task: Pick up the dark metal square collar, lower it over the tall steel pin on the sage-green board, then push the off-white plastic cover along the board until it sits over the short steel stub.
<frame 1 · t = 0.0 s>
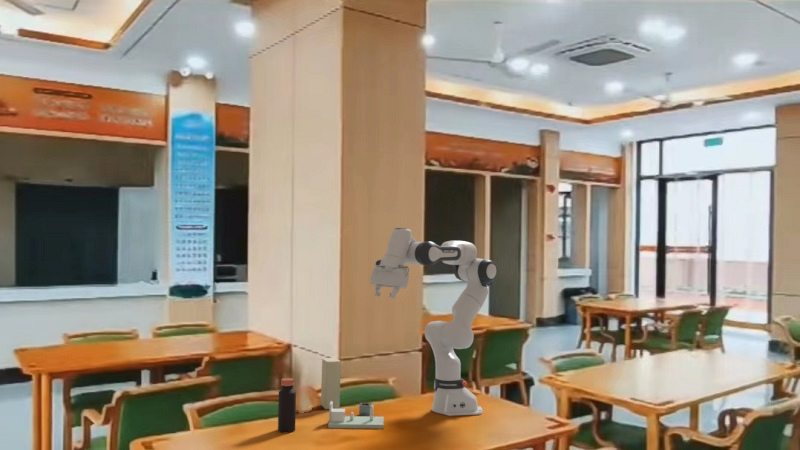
hand: (384, 297, 271), 52 cm above the table, tool tilted 20°, fingers open, 8 cm apart
collar: (365, 416, 283), on the table
bottle: (286, 430, 260), on the table
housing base: (356, 423, 271), on the table
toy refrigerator: (331, 406, 298), on the table
cover: (337, 411, 271), point 5 cm above the table, slide at 0.0 cm
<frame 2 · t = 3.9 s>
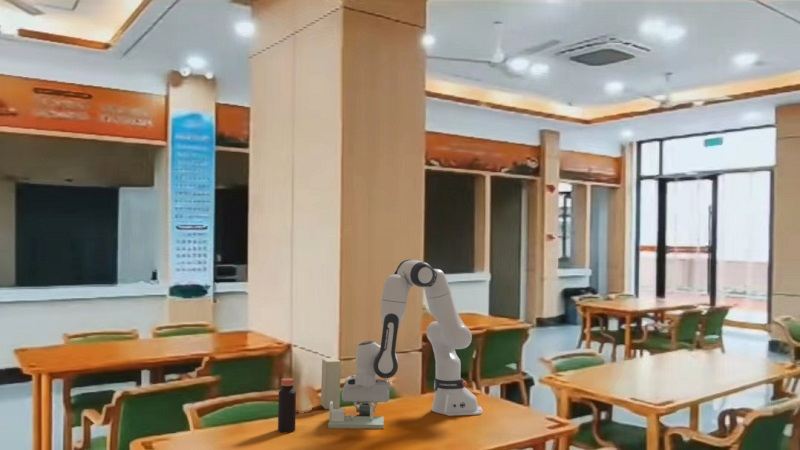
hand: (365, 412, 283), 2 cm above the table, tool pointing down, fingers closed on collar, 5 cm apart
collar: (365, 416, 283), on the table, touching gripper
everything else where it was.
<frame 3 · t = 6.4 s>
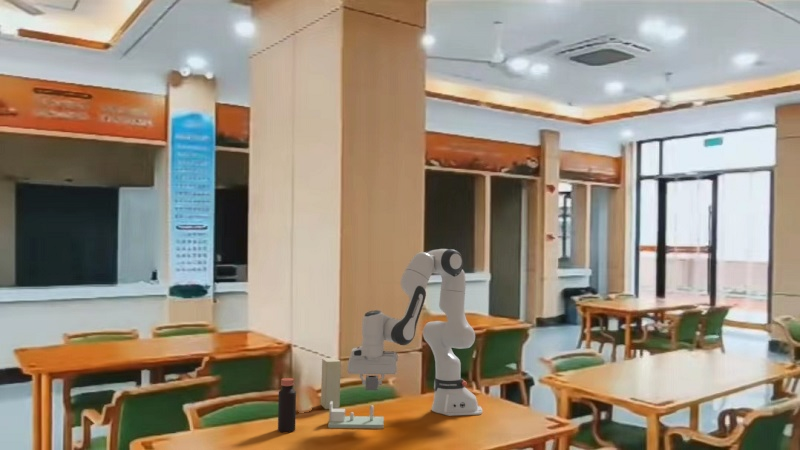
hand: (371, 384, 271), 16 cm above the table, tool pointing down, fingers closed on collar, 5 cm apart
collar: (371, 388, 271), point 14 cm above the table, touching gripper
everything else where it was.
when the fingers open (4 cm above the table, at t = 9.0 s): collar stays where it is, resting on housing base.
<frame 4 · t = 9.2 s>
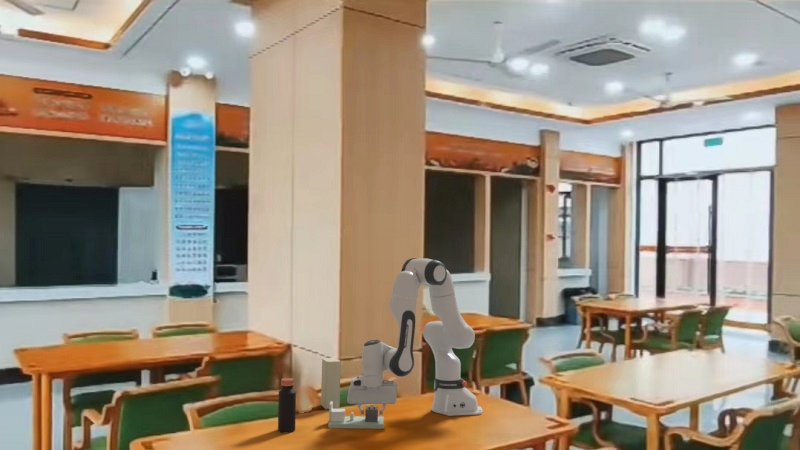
hand: (371, 414, 271), 4 cm above the table, tool pointing down, fingers open, 6 cm apart
collar: (371, 420, 271), point 1 cm above the table, touching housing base
everything else where it was.
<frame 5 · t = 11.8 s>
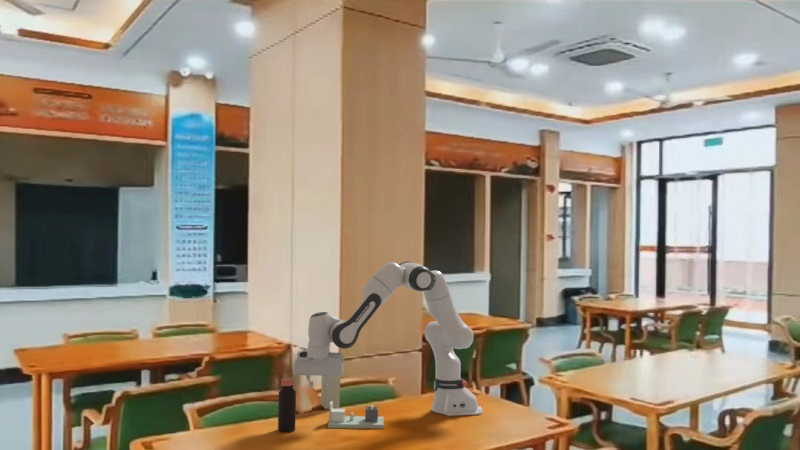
hand: (318, 386, 271), 15 cm above the table, tool pointing down, fingers open, 4 cm apart
nothing on the table moved.
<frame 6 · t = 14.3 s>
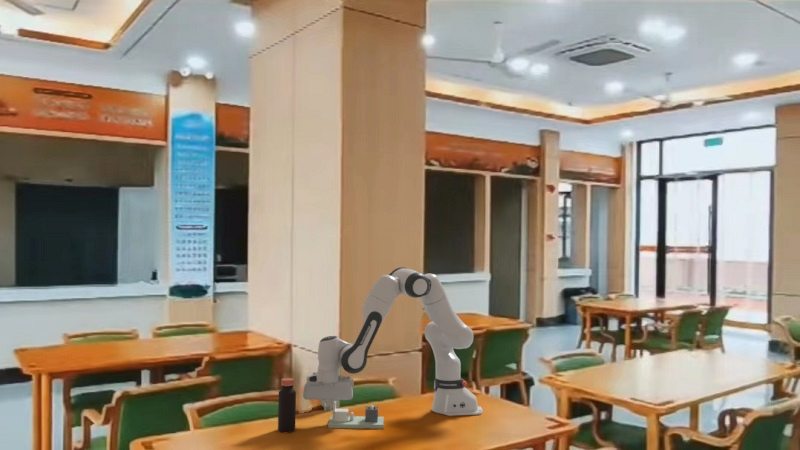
hand: (327, 410, 271), 5 cm above the table, tool pointing down, fingers closed
cover: (340, 411, 271), point 5 cm above the table, slide at 1.4 cm, touching gripper
everything else where it was.
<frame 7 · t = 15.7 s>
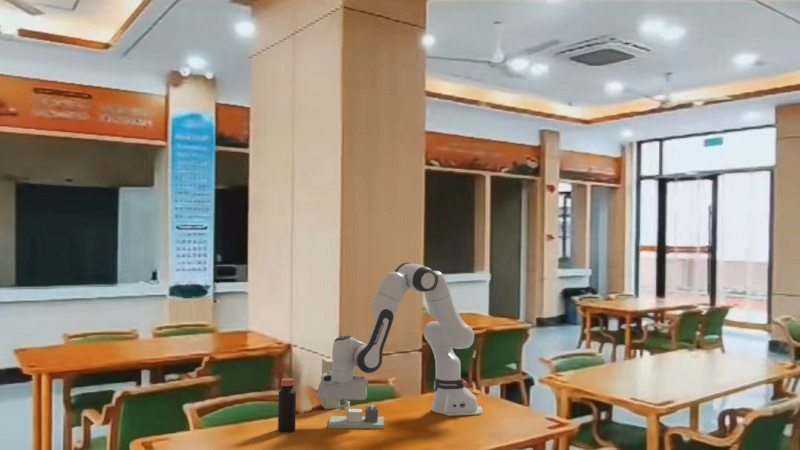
hand: (342, 409, 271), 6 cm above the table, tool pointing down, fingers closed
cover: (354, 411, 271), point 5 cm above the table, slide at 7.0 cm, touching gripper
everything else where it was.
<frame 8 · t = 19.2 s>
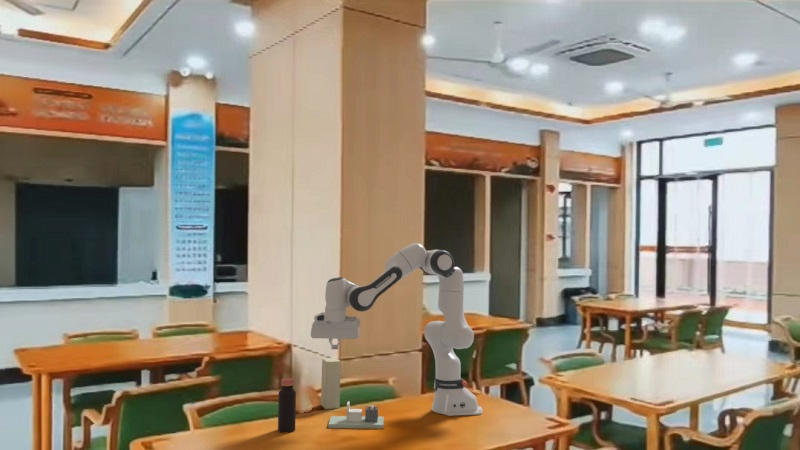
hand: (334, 349, 278), 29 cm above the table, tool pointing down, fingers closed
cover: (354, 411, 271), point 5 cm above the table, slide at 7.0 cm
everything else where it was.
at the end: collar 0.1 cm from the target spot on the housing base, point 1.5 cm above the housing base's base; cover slide at 7.0 cm; the gripper is holding nothing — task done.
